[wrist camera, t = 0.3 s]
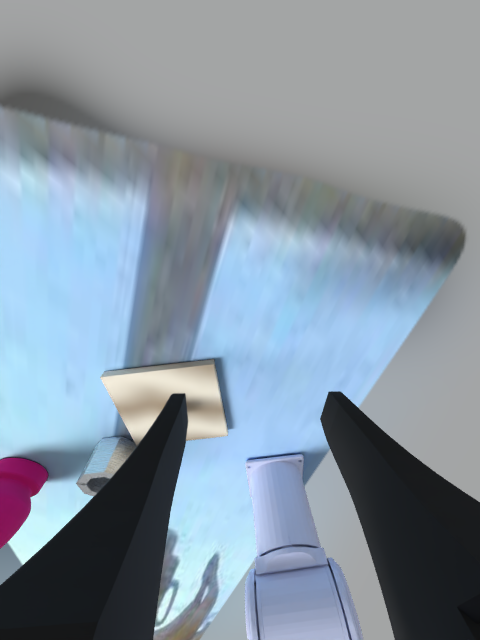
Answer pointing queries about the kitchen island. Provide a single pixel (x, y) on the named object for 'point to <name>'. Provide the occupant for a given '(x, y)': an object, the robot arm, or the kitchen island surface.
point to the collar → (104, 463)
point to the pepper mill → (17, 493)
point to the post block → (154, 391)
